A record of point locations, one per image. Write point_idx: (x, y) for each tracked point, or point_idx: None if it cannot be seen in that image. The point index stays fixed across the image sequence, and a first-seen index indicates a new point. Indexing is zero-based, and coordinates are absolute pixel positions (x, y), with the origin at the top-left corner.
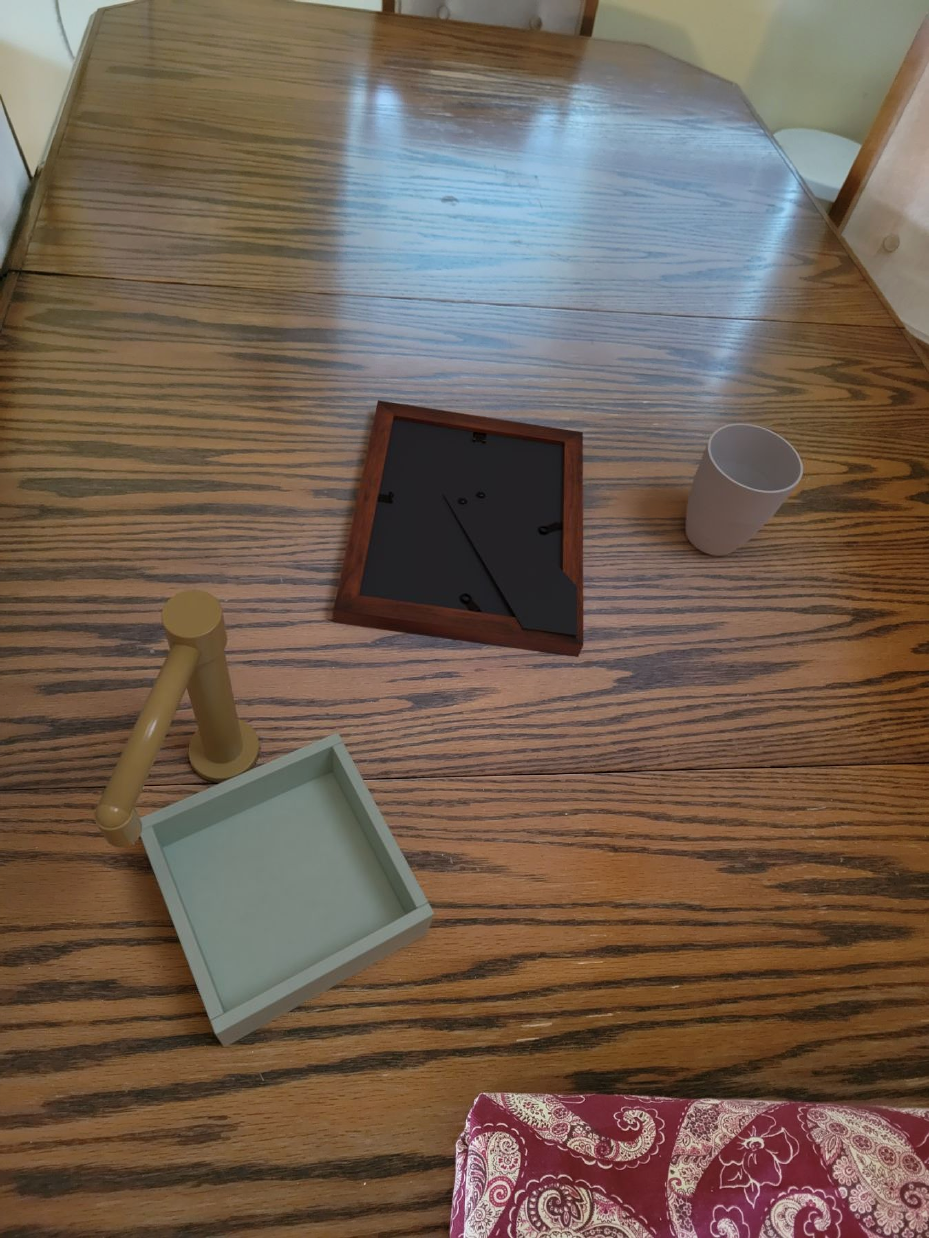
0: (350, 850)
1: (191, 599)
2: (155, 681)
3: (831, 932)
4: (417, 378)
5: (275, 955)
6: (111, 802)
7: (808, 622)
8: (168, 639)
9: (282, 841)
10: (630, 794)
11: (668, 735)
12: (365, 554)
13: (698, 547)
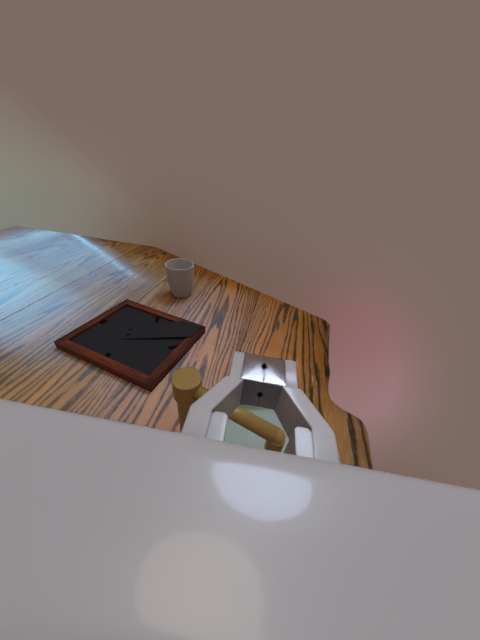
0: (251, 410)
1: (178, 376)
2: None
3: (295, 319)
4: (51, 330)
5: (285, 446)
6: (277, 431)
7: (217, 290)
8: (189, 396)
9: (242, 433)
10: (252, 337)
11: (238, 324)
12: (131, 368)
13: (184, 297)
